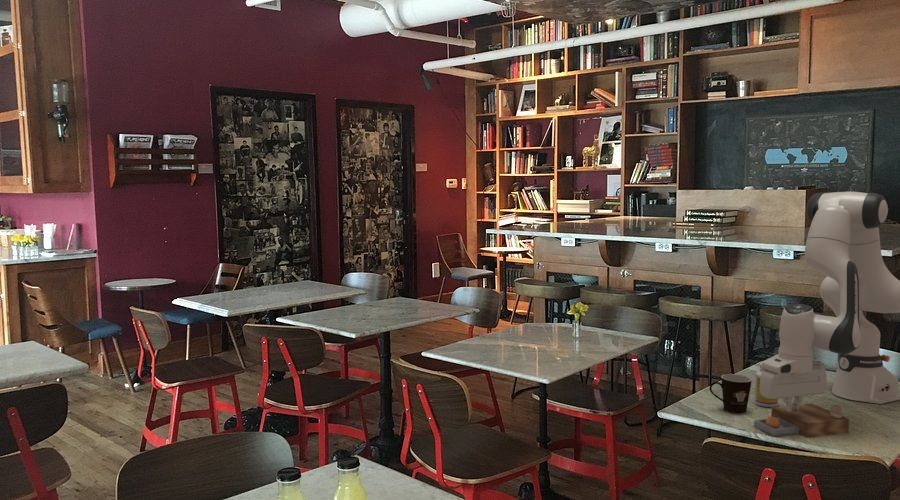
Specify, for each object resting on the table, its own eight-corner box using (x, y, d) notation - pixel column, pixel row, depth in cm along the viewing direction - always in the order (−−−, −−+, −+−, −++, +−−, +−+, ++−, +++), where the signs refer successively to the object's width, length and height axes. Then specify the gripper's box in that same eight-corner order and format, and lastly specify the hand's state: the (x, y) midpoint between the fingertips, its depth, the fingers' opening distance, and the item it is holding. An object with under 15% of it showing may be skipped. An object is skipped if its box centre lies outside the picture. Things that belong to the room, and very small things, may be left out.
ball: (766, 413, 205) (761, 425, 205) (775, 417, 202) (769, 429, 202) (775, 417, 206) (770, 428, 206) (784, 421, 203) (779, 433, 203)
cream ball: (836, 415, 205) (837, 402, 205) (846, 419, 202) (847, 406, 202) (826, 416, 204) (826, 404, 204) (836, 420, 201) (836, 408, 201)
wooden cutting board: (810, 416, 216) (811, 403, 216) (848, 432, 203) (849, 418, 203) (770, 420, 212) (771, 407, 212) (806, 437, 199) (807, 423, 199)
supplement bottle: (779, 408, 223) (782, 367, 222) (756, 407, 225) (758, 366, 223) (774, 402, 230) (776, 362, 229) (752, 400, 231) (754, 360, 230)
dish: (778, 424, 210) (778, 417, 209) (799, 434, 202) (799, 427, 202) (753, 426, 207) (754, 420, 207) (774, 436, 200) (774, 429, 199)
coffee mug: (750, 408, 224) (752, 376, 223) (749, 416, 216) (751, 383, 215) (710, 402, 229) (712, 371, 228) (708, 411, 221) (709, 378, 220)
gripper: (816, 357, 210) (814, 404, 211) (756, 362, 204) (754, 410, 206) (834, 363, 204) (831, 411, 205) (772, 368, 198) (770, 417, 200)
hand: (792, 411), depth 205 cm, fingers closed
